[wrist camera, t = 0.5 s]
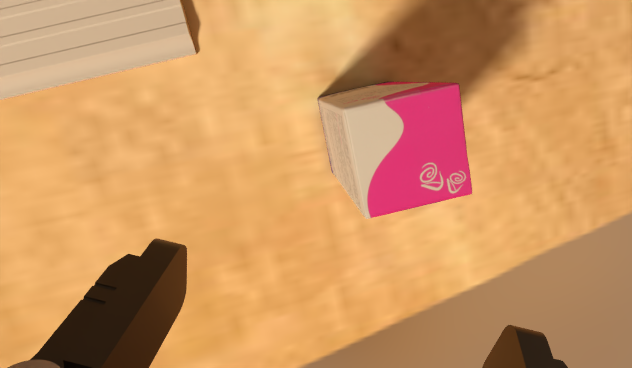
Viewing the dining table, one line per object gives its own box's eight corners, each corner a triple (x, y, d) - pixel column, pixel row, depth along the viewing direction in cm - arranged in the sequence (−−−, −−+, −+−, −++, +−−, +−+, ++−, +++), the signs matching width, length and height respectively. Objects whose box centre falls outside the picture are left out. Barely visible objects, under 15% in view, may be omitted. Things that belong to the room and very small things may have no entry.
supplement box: (332, 177, 33) (361, 222, 22) (316, 96, 32) (338, 100, 20) (408, 160, 33) (476, 196, 22) (395, 79, 32) (460, 74, 21)
